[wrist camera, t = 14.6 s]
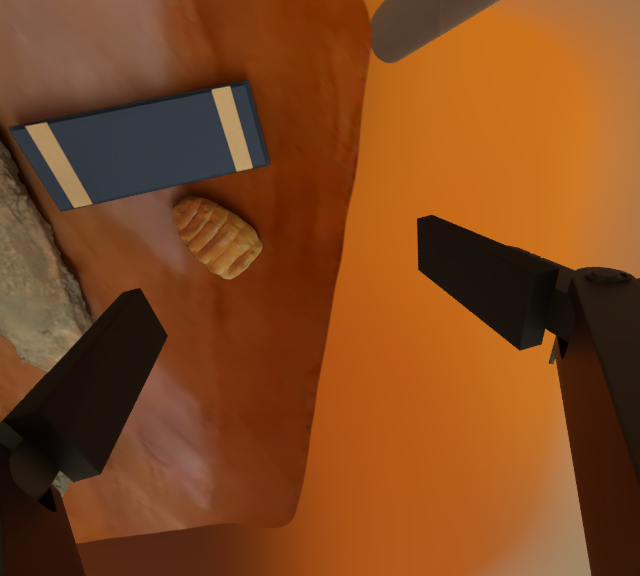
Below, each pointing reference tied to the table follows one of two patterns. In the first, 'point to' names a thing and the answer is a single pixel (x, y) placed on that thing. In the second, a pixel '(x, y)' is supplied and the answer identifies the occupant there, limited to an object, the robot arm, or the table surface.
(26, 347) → the long grey stone
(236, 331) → the table surface
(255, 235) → the pastry
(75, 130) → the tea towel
